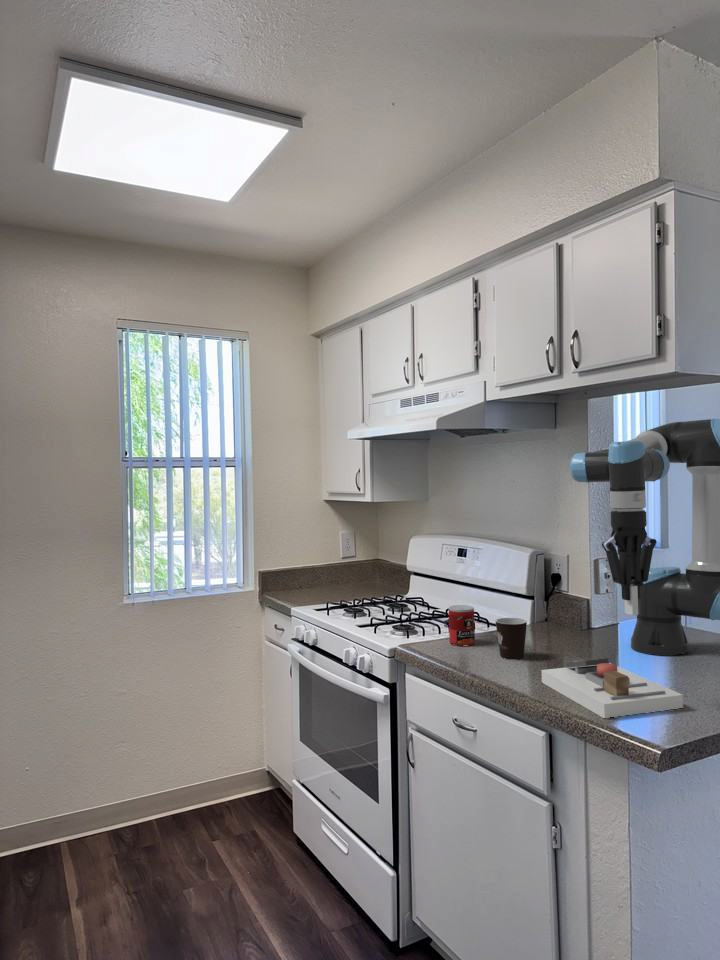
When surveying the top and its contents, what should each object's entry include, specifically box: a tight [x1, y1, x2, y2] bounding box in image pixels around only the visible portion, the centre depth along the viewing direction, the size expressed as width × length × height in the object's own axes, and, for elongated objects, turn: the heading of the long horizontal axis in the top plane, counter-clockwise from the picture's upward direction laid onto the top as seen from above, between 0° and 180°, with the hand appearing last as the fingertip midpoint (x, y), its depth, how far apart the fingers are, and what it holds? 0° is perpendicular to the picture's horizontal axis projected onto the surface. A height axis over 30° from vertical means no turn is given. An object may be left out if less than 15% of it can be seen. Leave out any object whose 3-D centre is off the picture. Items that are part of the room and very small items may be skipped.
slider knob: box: [604, 671, 629, 696], centre depth 146 cm, size 3×4×4 cm
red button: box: [597, 662, 618, 677], centre depth 154 cm, size 4×4×2 cm
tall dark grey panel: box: [565, 657, 610, 668], centre depth 162 cm, size 6×9×1 cm, turn 14°
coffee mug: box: [495, 617, 528, 660], centre depth 190 cm, size 12×9×10 cm
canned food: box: [448, 604, 476, 646], centre depth 205 cm, size 8×8×11 cm
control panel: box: [541, 662, 684, 719], centre depth 154 cm, size 19×26×4 cm
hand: (631, 613), depth 152 cm, fingers closed
